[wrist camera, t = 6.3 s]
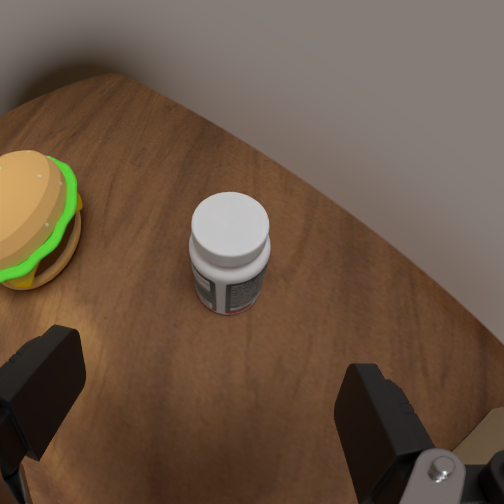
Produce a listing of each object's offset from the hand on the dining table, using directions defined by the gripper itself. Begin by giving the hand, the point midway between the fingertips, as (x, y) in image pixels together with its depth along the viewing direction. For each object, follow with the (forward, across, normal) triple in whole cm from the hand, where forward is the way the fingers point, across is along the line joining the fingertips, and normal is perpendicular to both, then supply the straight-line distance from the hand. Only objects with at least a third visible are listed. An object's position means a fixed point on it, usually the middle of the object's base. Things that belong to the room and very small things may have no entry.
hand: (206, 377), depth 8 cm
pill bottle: (+15, 0, +3) cm, 15 cm away
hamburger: (+16, +18, +2) cm, 24 cm away
